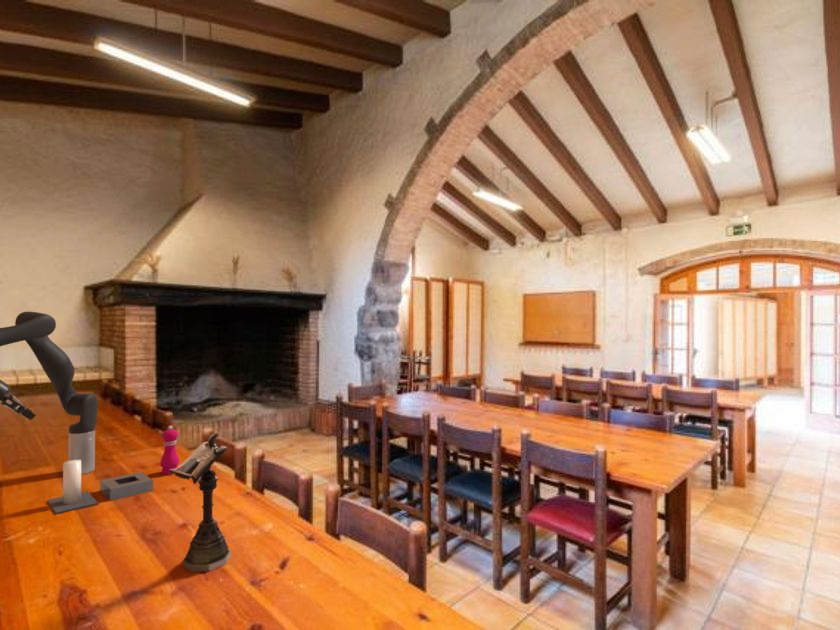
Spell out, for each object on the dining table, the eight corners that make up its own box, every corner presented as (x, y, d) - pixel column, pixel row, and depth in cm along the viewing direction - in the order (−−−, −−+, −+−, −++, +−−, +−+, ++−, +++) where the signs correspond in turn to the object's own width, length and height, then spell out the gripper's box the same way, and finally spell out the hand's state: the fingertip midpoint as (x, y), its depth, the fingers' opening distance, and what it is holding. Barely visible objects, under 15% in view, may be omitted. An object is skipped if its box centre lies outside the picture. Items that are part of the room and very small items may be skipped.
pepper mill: (171, 475, 199) (171, 428, 200) (156, 474, 201) (156, 427, 201) (183, 470, 207) (183, 424, 207) (168, 469, 208) (168, 423, 208)
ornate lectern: (182, 587, 118) (183, 445, 118) (157, 570, 125) (158, 437, 126) (242, 560, 131) (243, 432, 131) (216, 546, 139) (217, 426, 139)
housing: (100, 490, 182) (100, 480, 182) (141, 481, 192) (141, 471, 192) (110, 500, 173) (110, 489, 173) (152, 490, 183) (152, 480, 183)
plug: (61, 501, 170) (61, 461, 170) (79, 497, 174) (79, 458, 174) (64, 505, 167) (64, 465, 167) (82, 501, 170) (82, 461, 170)
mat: (47, 501, 171) (47, 499, 171) (87, 492, 180) (87, 491, 180) (55, 514, 160) (55, 512, 160) (98, 504, 169) (98, 502, 169)
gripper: (0, 380, 157) (44, 410, 166) (-4, 376, 167) (37, 404, 175) (-22, 398, 153) (24, 428, 162) (-25, 393, 163) (19, 421, 172)
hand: (31, 415), depth 169 cm, fingers open, 8 cm apart
